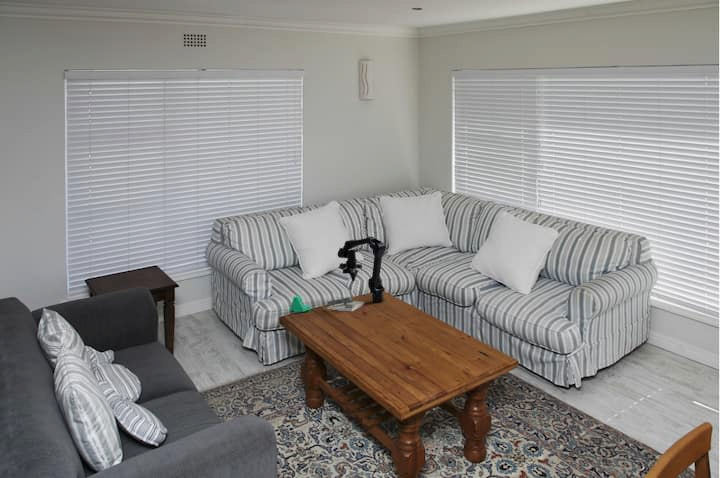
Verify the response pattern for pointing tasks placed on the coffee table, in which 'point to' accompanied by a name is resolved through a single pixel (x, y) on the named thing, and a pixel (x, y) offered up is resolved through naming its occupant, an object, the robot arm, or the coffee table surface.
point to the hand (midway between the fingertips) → (353, 281)
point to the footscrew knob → (340, 301)
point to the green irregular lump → (298, 305)
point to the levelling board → (342, 307)
